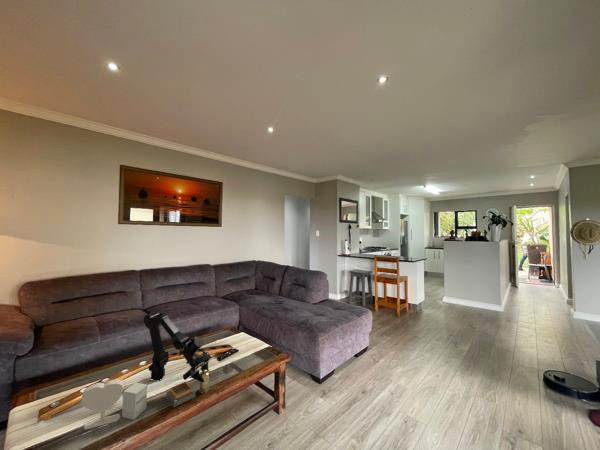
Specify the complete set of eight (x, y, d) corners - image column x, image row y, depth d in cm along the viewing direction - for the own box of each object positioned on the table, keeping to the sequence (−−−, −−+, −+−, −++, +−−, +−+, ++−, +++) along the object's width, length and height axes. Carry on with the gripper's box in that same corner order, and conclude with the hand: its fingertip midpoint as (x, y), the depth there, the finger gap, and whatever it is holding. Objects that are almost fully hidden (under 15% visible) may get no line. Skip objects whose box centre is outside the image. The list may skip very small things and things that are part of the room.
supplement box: (134, 420, 120) (135, 394, 120) (121, 417, 121) (122, 391, 121) (146, 408, 127) (147, 384, 127) (134, 406, 128) (135, 381, 128)
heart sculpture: (123, 412, 124) (124, 376, 124) (121, 419, 120) (123, 382, 119) (83, 422, 117) (84, 384, 117) (79, 431, 112) (81, 391, 112)
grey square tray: (174, 408, 128) (174, 398, 128) (166, 397, 136) (166, 388, 136) (195, 397, 136) (195, 388, 136) (186, 388, 144) (187, 379, 144)
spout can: (197, 392, 141) (198, 370, 141) (203, 386, 146) (203, 366, 146) (205, 394, 139) (206, 373, 139) (211, 388, 144) (212, 368, 144)
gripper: (188, 356, 134) (204, 381, 132) (209, 341, 152) (224, 362, 149) (175, 368, 137) (191, 392, 134) (198, 351, 155) (213, 372, 152)
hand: (206, 379), depth 142 cm, fingers closed on spout can, 5 cm apart
